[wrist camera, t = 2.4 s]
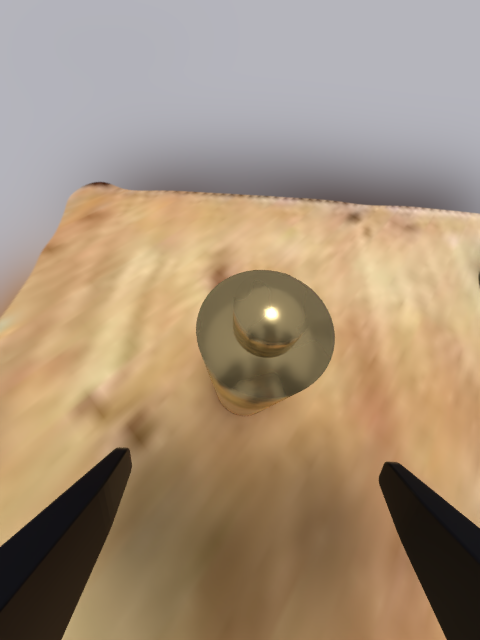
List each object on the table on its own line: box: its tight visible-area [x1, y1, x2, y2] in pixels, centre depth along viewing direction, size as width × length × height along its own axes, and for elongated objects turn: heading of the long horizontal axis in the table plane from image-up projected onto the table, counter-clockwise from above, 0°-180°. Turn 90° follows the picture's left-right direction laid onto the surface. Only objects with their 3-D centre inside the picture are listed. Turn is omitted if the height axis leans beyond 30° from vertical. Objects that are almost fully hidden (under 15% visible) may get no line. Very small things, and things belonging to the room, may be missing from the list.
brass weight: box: [196, 270, 335, 416], centre depth 13 cm, size 5×5×15 cm
